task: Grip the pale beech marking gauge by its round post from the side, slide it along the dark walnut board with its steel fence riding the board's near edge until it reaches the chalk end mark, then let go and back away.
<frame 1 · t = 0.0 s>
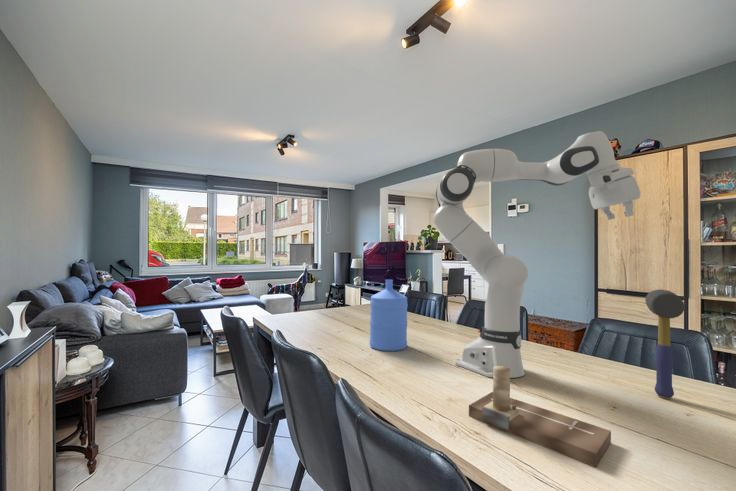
hand: (620, 217, 109), 52 cm above the table, tool tilted 20°, fingers open, 8 cm apart
water jug: (388, 346, 139), on the table
walnut board: (534, 428, 75), on the table
rubber mallet: (664, 398, 93), on the table
marking gauge: (501, 412, 77), point 2 cm above the table, touching walnut board
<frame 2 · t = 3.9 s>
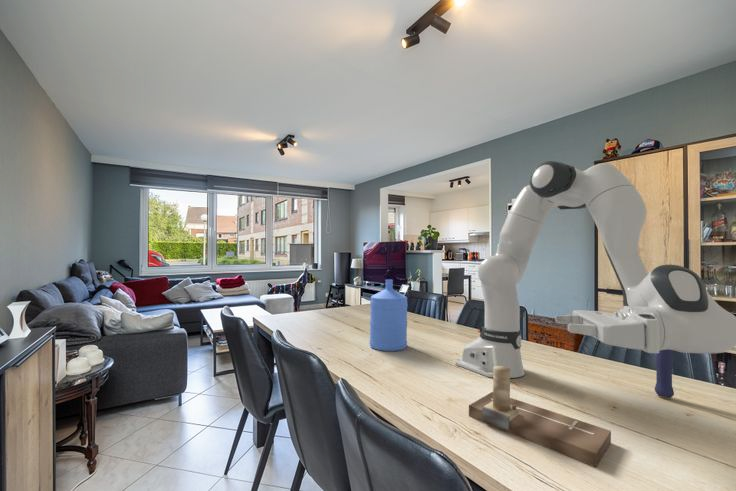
hand: (561, 323, 74), 24 cm above the table, tool horizontal, fingers open, 8 cm apart
nothing on the table moved.
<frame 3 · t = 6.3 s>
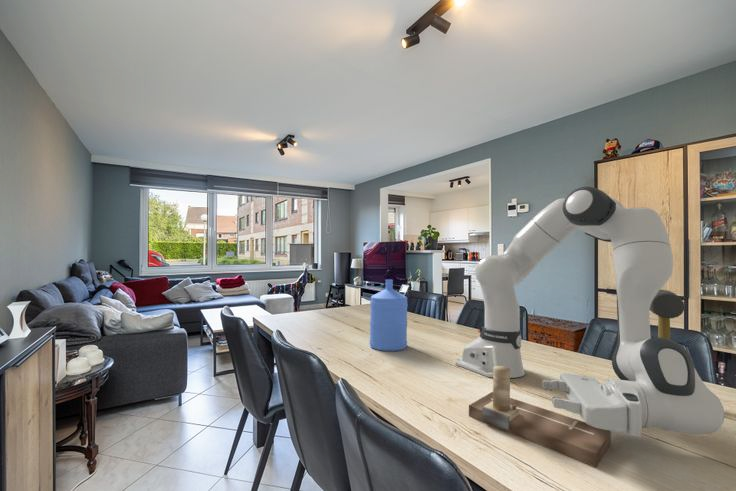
hand: (547, 392, 74), 8 cm above the table, tool horizontal, fingers open, 8 cm apart
nothing on the table moved.
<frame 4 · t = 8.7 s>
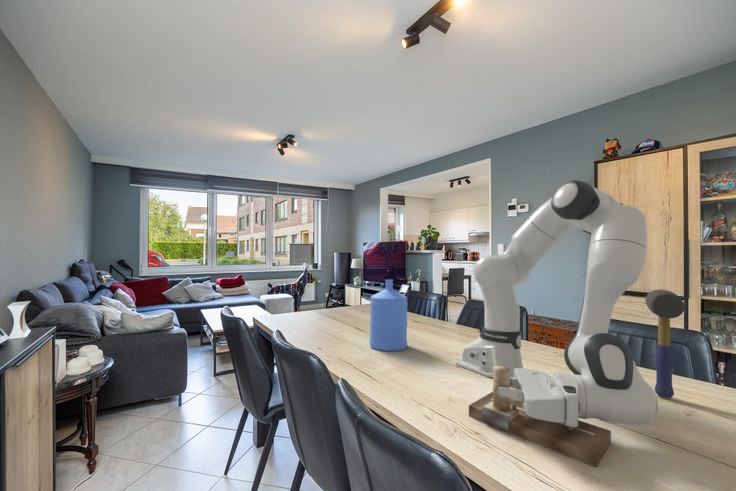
hand: (497, 386, 77), 9 cm above the table, tool horizontal, fingers closed on marking gauge, 4 cm apart
marking gauge: (501, 412, 77), point 2 cm above the table, touching gripper, walnut board
everything else where it was.
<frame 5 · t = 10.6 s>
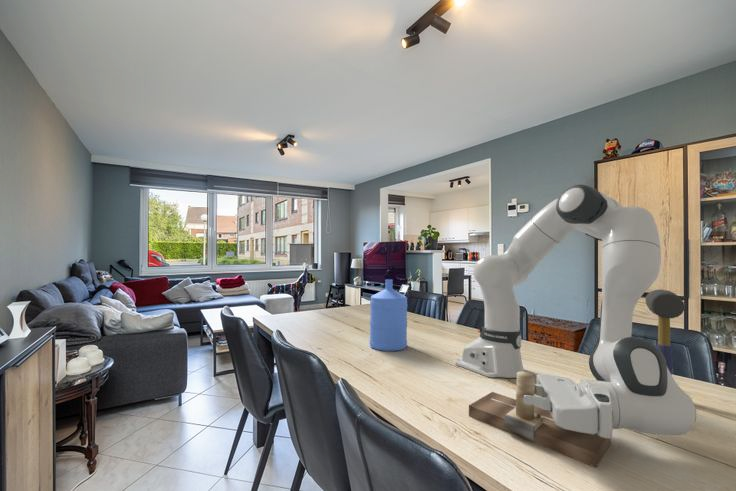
hand: (521, 393, 73), 9 cm above the table, tool horizontal, fingers closed on marking gauge, 4 cm apart
marking gauge: (524, 421, 73), point 3 cm above the table, touching gripper
everything else where it was.
when the fingers open (8 cm above the table, at t = 12.6 s): marking gauge stays where it is, resting on walnut board.
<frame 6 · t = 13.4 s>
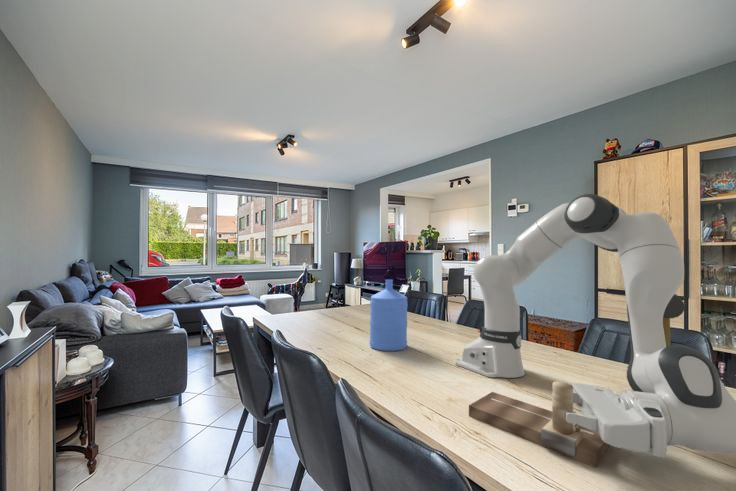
hand: (559, 405, 68), 8 cm above the table, tool horizontal, fingers open, 8 cm apart
marking gauge: (562, 435, 67), point 2 cm above the table, touching walnut board
everything else where it was.
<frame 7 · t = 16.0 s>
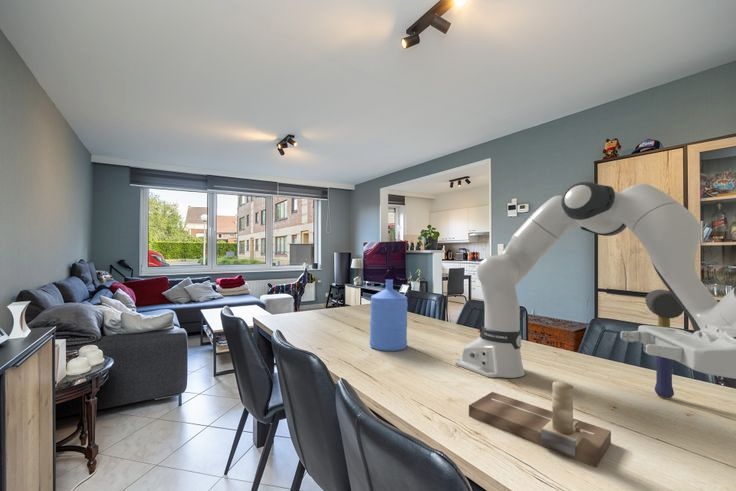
hand: (632, 341, 64), 23 cm above the table, tool horizontal, fingers open, 8 cm apart
nothing on the table moved.
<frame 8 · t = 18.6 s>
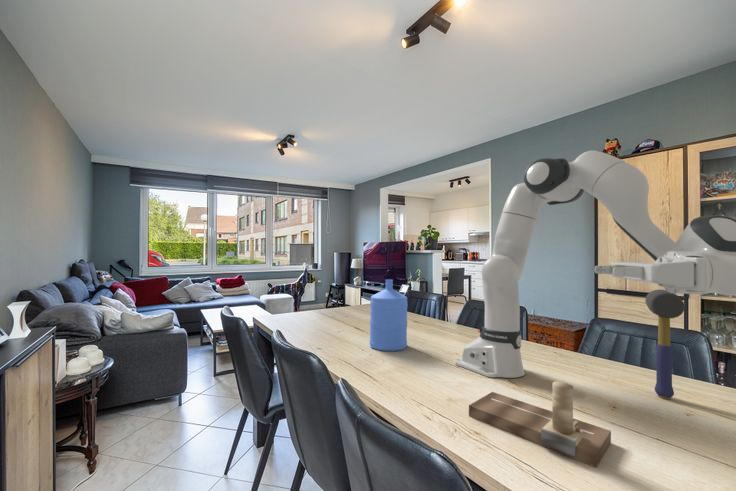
hand: (603, 270, 73), 36 cm above the table, tool horizontal, fingers open, 8 cm apart
nothing on the table moved.
at the end: marking gauge 0.2 cm from the target spot, point 2.5 cm above the table; marking gauge tilted 0°; the gripper is holding nothing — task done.
